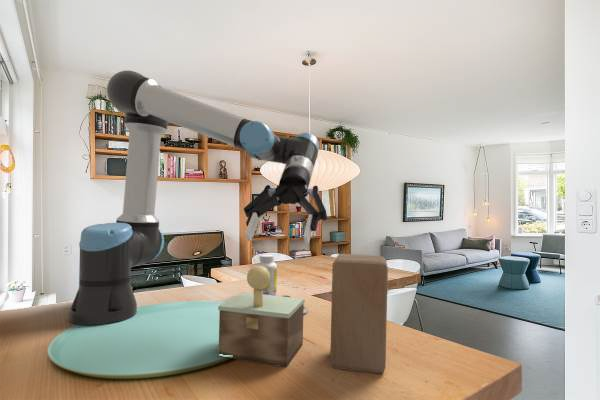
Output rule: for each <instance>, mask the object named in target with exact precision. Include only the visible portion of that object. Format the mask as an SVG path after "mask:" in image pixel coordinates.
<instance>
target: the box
mask: <svg viewBox="0 0 600 400" xmlns="http://www.w3.org/2000/svg"><path fill="white" fill-rule="evenodd" d="M304 306H305V302H304V303H303V304H302V305H301V306H300V308H299V309H298V310H297V311H296V312H295V313H294V314H293V315H292V316H291V317H290V318H281V317H273V316H264V315H256V314H247V313H239V312H230V311H222V310H219V313H218V314H219V320H218V321H219V323H218V354H223V355H233V360H239V361H247V362H252V363H259V364H264V365H271V366H277V367H283V368H284V367H285V368H287V367H288V366H289V364H290V363H291V362H292V361H293V359H294V358H295V356H296V354H297V353H298V352H299V351H300V349H301V348H302V347H303V346H304V345H303V342H304V341H303V340H304V339H303V338H304V337H303V336H304V314H303V309H304Z"/></svg>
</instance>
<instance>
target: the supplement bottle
mask: <svg viewBox="0 0 600 400" xmlns="http://www.w3.org/2000/svg"><path fill="white" fill-rule="evenodd" d="M274 260H275V255H274V254H261V255H259V261H260V262H259V263H257V264H256V266H263V267H265V268H267V269H268V271H269V273H270V282H269V284H268V285H267V286H266V287H265V288H263V295H273V296H277V286H278V285H277V284H278V283H277V282H278V281H277V279H278V278H277V277H278V274H277V273H278V272H277V271H278V265H277V263H275V261H274Z"/></svg>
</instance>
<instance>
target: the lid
mask: <svg viewBox="0 0 600 400" xmlns="http://www.w3.org/2000/svg"><path fill="white" fill-rule="evenodd" d="M246 281H247V284H248V285H249V286H250V287H251V288H252V289H253V293H251V292H241V293H240V294H238V295H235V296H234V297H232V298H230V299H228V300H227V301H225V302H223V303H221V304H219V305H218V306H217V308H218V309H217V310H218V311H220V310H222V311H230V312H239V313H247V314H256V315H264V316H273V317H281V318H290V317H291V316H292V315H293V314H294V313H295V312H296V311H297V310H298V309H299V308H300V306H301V305H302V304H303V303H304V304H305V302H306V301H305V300H306V299H305V298H304V297H303V298H302V297H291V296H290V297H283V296H284V295H275V296H273V295H263V288H265V287H266V286H267V285H268V284H269V282H270V273H269V271H268V269H267V268H265V267H263V266H257V265H255V266H253V267H251V268H250V269H249V270H248V272H247V274H246Z"/></svg>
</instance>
